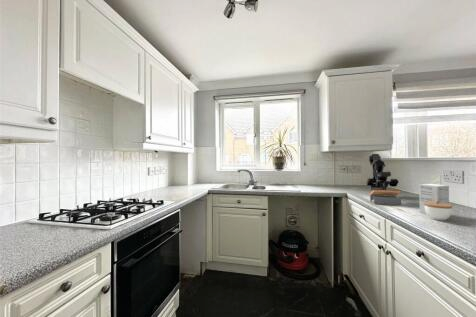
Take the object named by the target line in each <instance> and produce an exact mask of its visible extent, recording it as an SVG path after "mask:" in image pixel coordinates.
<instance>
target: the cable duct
mask: <svg viewBox="0 0 476 317" xmlns="http://www.w3.org/2000/svg"><path fill="white" fill-rule="evenodd" d="M369 201H371V203H372V204H373V203H374V204H373V205H388V206H402V198H401V197H397V195H396V196H388V195H370V194H369Z"/></svg>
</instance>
